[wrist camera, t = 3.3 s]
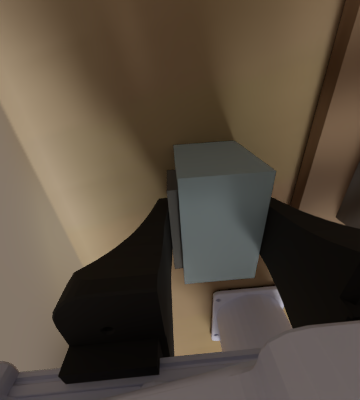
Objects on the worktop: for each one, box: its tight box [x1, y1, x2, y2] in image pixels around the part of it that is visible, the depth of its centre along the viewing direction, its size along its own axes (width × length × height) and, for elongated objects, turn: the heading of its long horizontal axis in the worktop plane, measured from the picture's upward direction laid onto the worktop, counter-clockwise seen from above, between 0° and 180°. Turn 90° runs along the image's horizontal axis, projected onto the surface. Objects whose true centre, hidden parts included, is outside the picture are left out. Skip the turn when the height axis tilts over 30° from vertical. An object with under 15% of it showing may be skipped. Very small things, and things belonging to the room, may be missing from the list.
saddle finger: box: [167, 141, 276, 284], centre depth 12 cm, size 4×6×6 cm
